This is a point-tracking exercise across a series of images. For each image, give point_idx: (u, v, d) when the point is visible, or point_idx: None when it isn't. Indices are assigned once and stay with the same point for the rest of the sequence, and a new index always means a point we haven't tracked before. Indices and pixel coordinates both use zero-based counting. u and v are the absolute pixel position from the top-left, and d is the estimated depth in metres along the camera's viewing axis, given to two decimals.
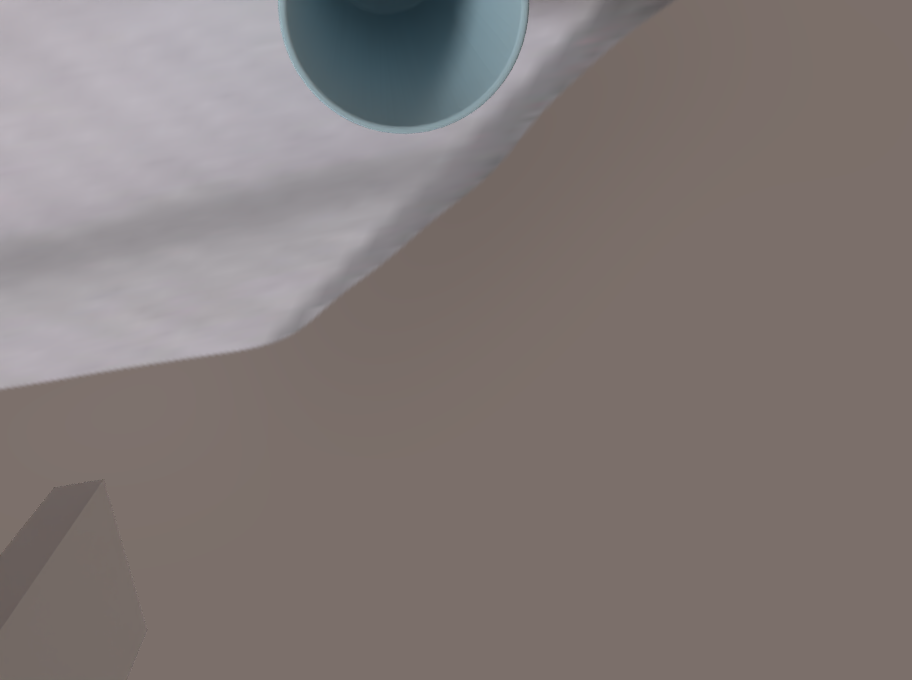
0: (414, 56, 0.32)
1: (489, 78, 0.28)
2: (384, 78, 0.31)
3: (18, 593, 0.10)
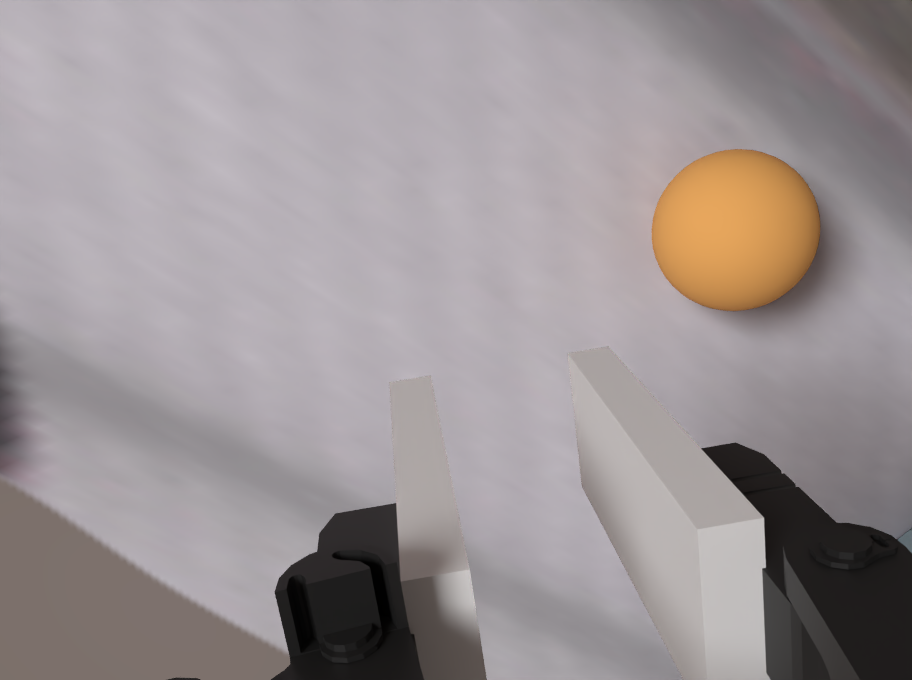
0: None
1: None
2: None
3: (437, 443, 0.13)
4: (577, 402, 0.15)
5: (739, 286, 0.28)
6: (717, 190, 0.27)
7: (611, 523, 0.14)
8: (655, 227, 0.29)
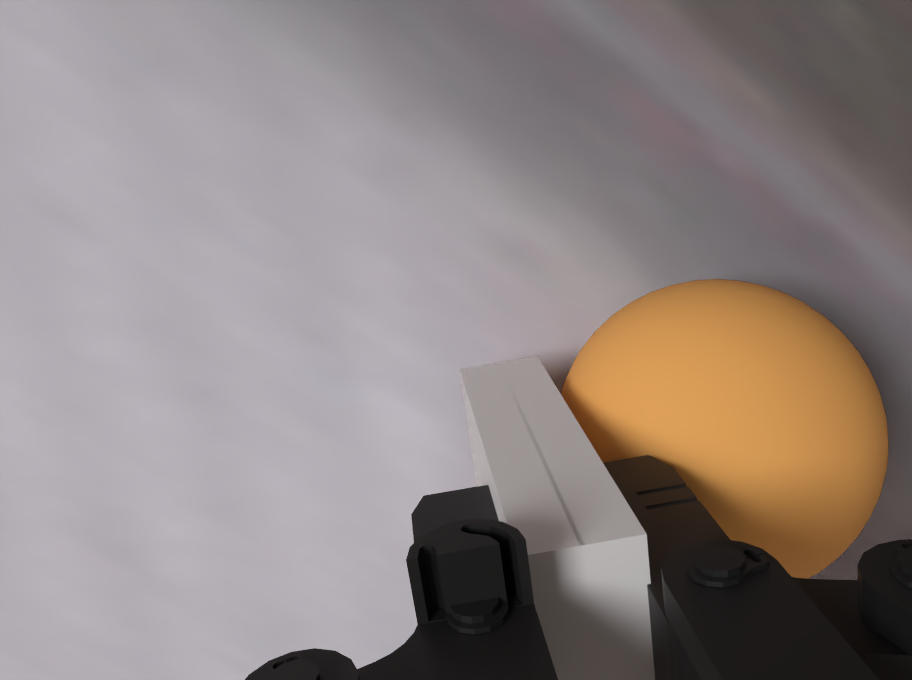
0: None
1: None
2: None
3: (522, 427, 0.13)
4: None
5: (843, 549, 0.14)
6: (797, 372, 0.13)
7: None
8: None
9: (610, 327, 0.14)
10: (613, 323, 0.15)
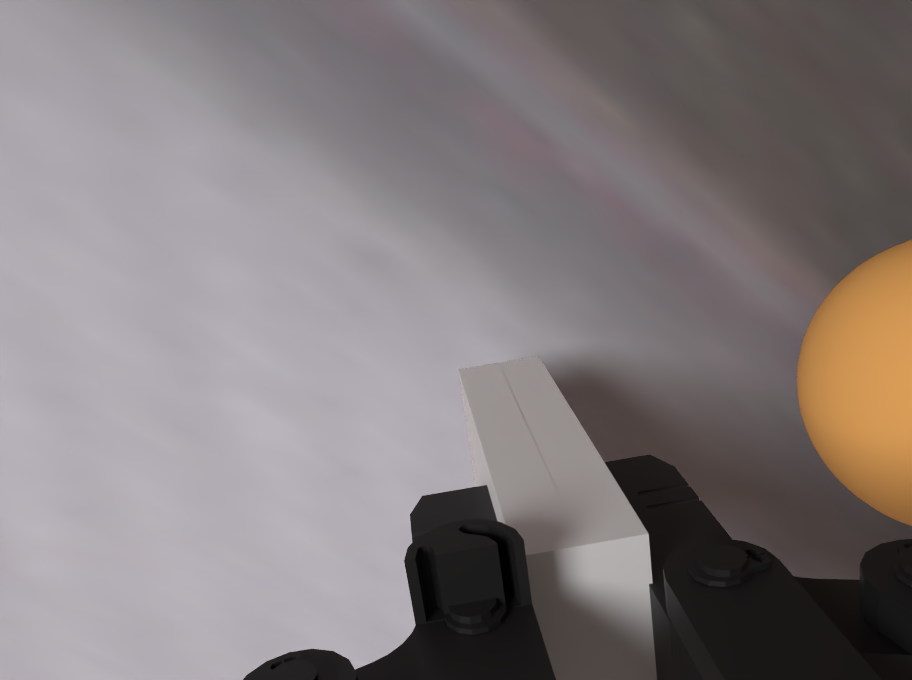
0: None
1: None
2: None
3: (521, 427, 0.13)
4: None
5: None
6: None
7: None
8: None
9: None
10: None
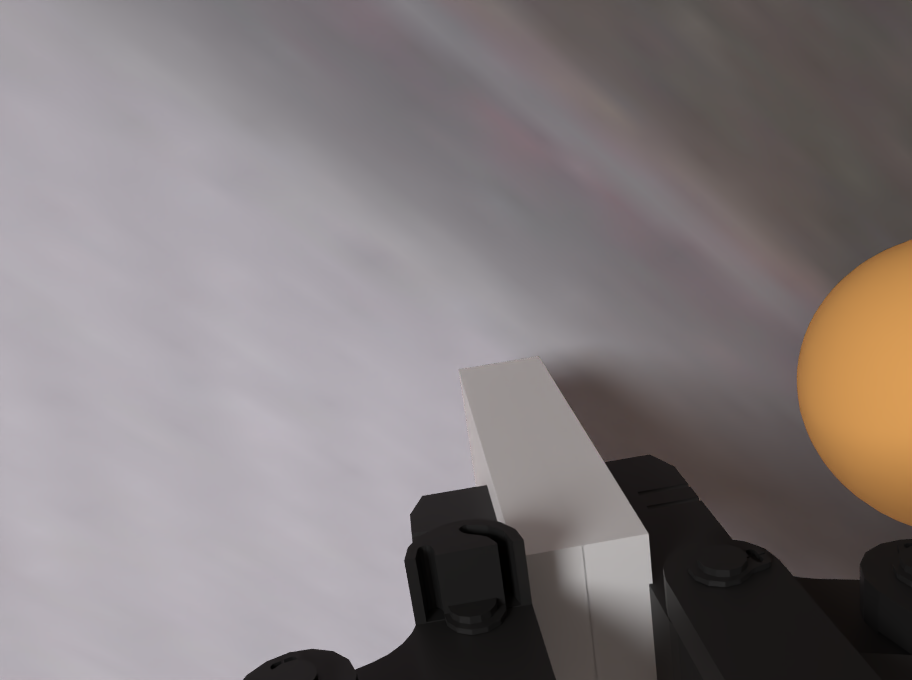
0: None
1: None
2: None
3: (521, 427, 0.13)
4: None
5: None
6: None
7: None
8: None
9: None
10: None
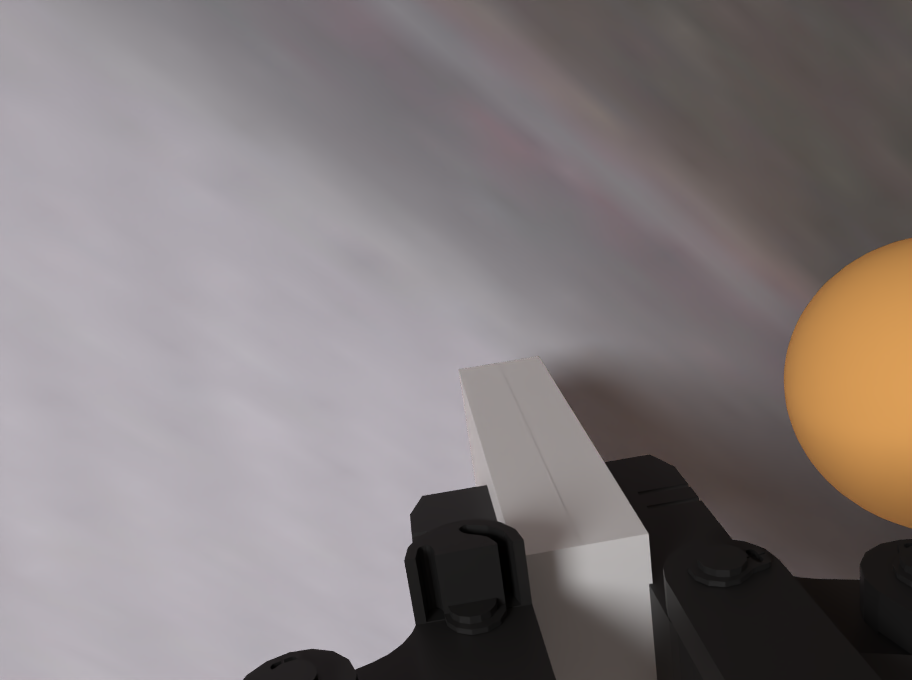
0: None
1: None
2: None
3: (521, 427, 0.13)
4: None
5: None
6: None
7: None
8: None
9: None
10: None
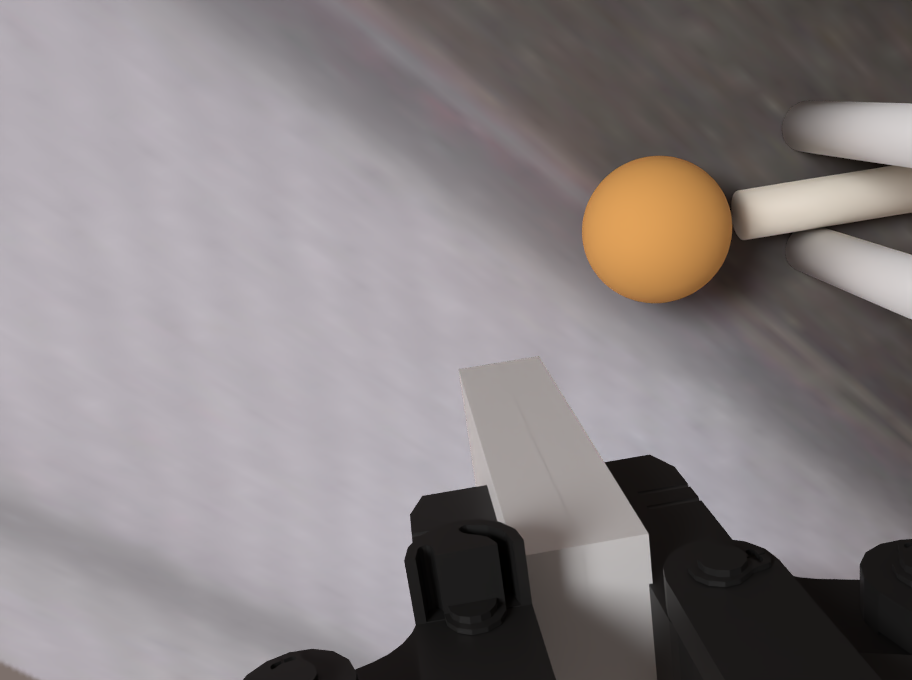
0: None
1: None
2: None
3: (521, 427, 0.13)
4: None
5: None
6: None
7: None
8: None
9: (696, 168, 0.31)
10: (694, 167, 0.31)
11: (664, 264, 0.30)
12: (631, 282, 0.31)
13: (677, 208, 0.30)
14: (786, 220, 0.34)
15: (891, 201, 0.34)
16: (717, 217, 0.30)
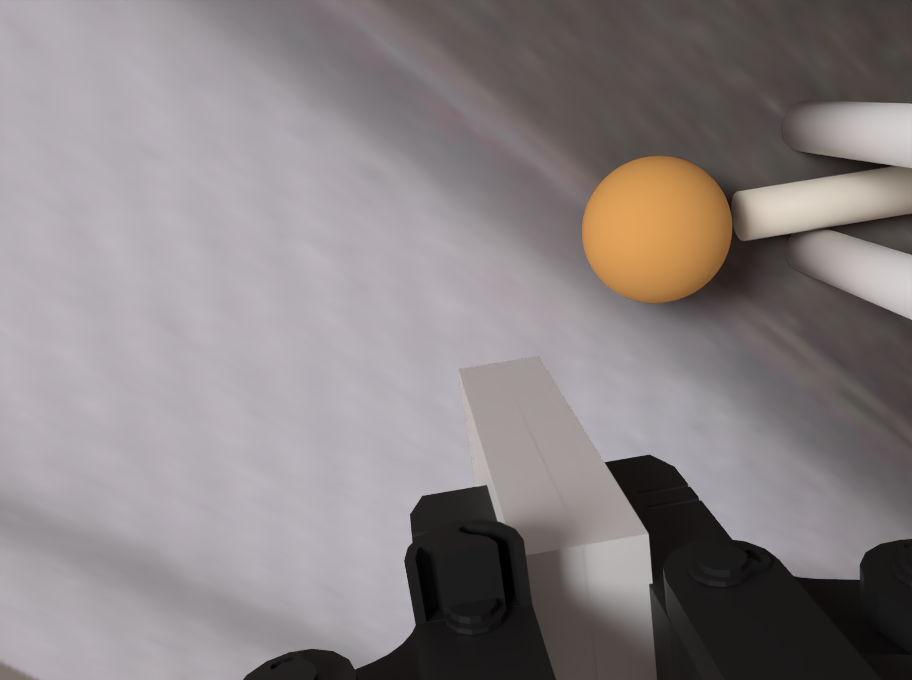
0: None
1: None
2: None
3: (521, 427, 0.13)
4: None
5: None
6: None
7: None
8: None
9: (696, 168, 0.31)
10: (694, 167, 0.31)
11: (664, 264, 0.30)
12: (631, 282, 0.31)
13: (677, 208, 0.30)
14: (786, 222, 0.34)
15: (891, 203, 0.34)
16: (717, 217, 0.30)
